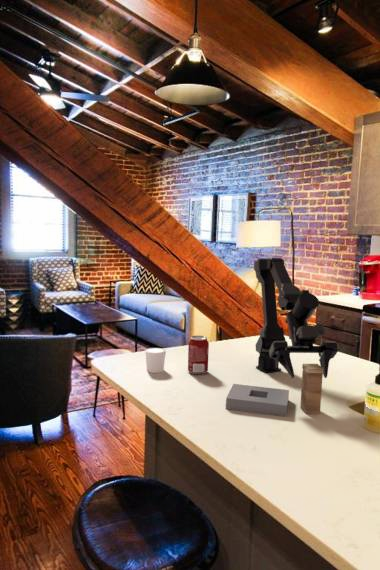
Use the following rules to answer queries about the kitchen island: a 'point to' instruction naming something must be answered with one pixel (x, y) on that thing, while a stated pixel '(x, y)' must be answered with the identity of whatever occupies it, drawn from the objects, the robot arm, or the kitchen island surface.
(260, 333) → the robot arm
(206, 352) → the soda can
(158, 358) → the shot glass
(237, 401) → the socket board
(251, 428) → the kitchen island surface
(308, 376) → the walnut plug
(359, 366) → the kitchen island surface
